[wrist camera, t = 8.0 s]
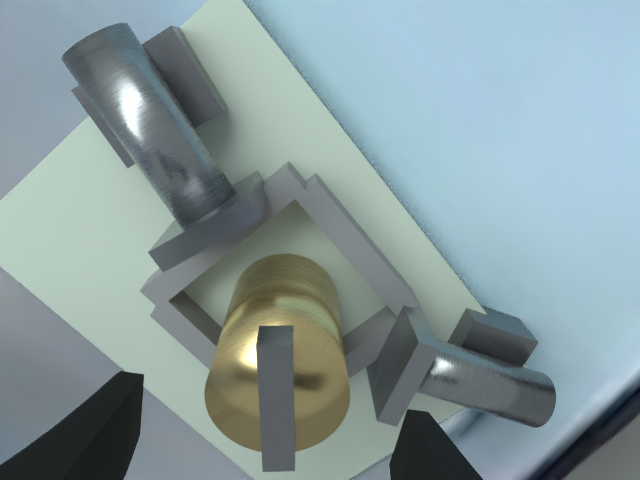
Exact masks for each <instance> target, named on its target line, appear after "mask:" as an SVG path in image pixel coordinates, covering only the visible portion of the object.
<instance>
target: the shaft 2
mask: <svg viewBox="0 0 640 480" xmlns="http://www.w3.org/2000/svg"><path fill="white" fill-rule="evenodd" d="M482 308H483V309H484V311H485V312H486V313H487V314H484V313H481V312H478V311H475V310H472V309H469V308H466V309H465V311H464V313H463V315H462V316H461V318H460V320H459V322H458V324H457V325H456V327H455V329H454V331H453V333H452V334H451V336H450V338H449V340H448V342H444V341H441V340H438V339H435V338H434V336H433V334H432V331H431V329H430V327H429V325H428V323H427V321H426V319H425V316H424V314H423V312H422V310H421V308H420V306H419V305H418V306H416V307H415V308H411V307H408V306H405V305H403V307H402V309H401V311H400V313H399V315H398V317H397V316H396V315H395V314H394V313H393V314H394V317H395V320H396V321H395V323H394V325H393V327H392V329H391V331H390V333H389V335H388V337H387V339H386V341H385V343H384V345H383V347H382V349H381V351H380V353H379V355H378V357H377V359H376V361H374V362H373V363H371V364H370V365H368V366H367V367H366V369H367V374H368V379H369V384H370V389H371V394H372V399H373V404H374V409H375V414H376V419H377V421H378V422H381V423H385V424H388V425H392V426H395V427H397V426H398V424H399V422H400V420H401V418H402V417H403V415H404V413H405V411H406V409H407V407H408V406H409V404H410V402H411V400H412V398H413V397H414V395H415V393H416V392H418V393H421V394H424V395H428V396H431V397H434V398H438V399H441V400H444V401H448V402H451V403H454V404H458V405H461V406H464V407H468V408H471V409H474V410H477V411H481V412H484V413H487V414H491V415H494V416H497V417H501V418H504V419H507V420H511V421H514V422H517V423H520V424H524V425H527V426H530V427H535V428H536V427H541V426H543V425H544V424H545V423H546V422H547V421H548V420H549V419H550V417H551V416H552V413H553V411H554V408H555V402H556V393H555V388H554V385H553V383H552V381H551V379H550V378H549V377H548V376H547V375H545V374H543V373H540V372H537V371H534V370H530V369H527V368H524V367H523V365H524V364H525V362H526V361H527V359H528V358H529V356H530V354H531V353H532V351H533V350H534V348H535V347H536V345H537V343H538V341H537V340H536V339H535V338H534V336H533V335H532V334H531V333H530V332H529V330H528V329H527V328H526V327H525V326H524V324H523V323H522V322H521V321H520V320H519V319H518V318H515V317H512V316H510V315H507V314H504V313H501V312H498V311H495V310H492V309H489V308H486V307H483V306H482Z"/></svg>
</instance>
